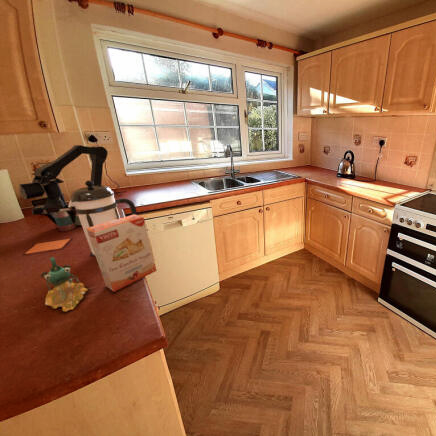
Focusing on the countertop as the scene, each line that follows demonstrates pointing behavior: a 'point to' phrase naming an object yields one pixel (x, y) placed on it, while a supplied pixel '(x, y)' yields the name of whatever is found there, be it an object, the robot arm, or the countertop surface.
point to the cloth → (48, 246)
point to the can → (64, 220)
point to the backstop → (77, 221)
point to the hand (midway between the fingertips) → (65, 223)
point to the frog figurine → (63, 288)
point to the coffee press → (96, 206)
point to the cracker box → (122, 251)
